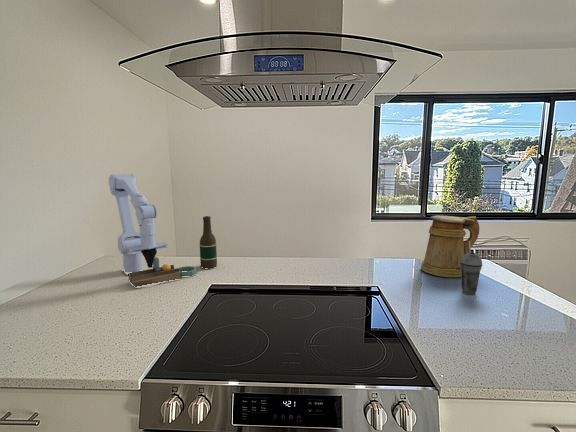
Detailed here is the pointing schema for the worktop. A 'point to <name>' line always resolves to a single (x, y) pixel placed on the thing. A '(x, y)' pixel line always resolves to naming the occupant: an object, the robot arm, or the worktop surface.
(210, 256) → the beer bottle
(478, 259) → the beverage cup
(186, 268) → the teal shallow dish
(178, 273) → the brown wooden moulding block
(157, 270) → the gray l-shaped bracket
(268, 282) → the worktop surface
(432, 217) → the tankard
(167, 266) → the ball
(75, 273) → the worktop surface
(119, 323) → the worktop surface
